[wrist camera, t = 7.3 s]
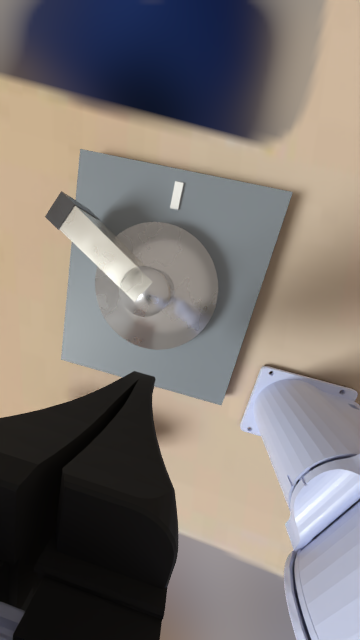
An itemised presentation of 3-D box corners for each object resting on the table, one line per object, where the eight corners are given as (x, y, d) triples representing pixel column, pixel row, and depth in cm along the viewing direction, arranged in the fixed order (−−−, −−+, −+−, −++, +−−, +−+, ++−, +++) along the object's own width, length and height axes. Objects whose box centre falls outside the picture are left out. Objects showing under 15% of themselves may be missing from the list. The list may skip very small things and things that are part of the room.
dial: (128, 171, 15) (100, 129, 11) (243, 288, 16) (257, 291, 12) (57, 269, 18) (14, 264, 14) (160, 366, 19) (148, 390, 14)
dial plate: (284, 200, 16) (294, 190, 14) (220, 396, 20) (221, 406, 19) (90, 160, 17) (78, 147, 15) (70, 354, 21) (59, 360, 20)
